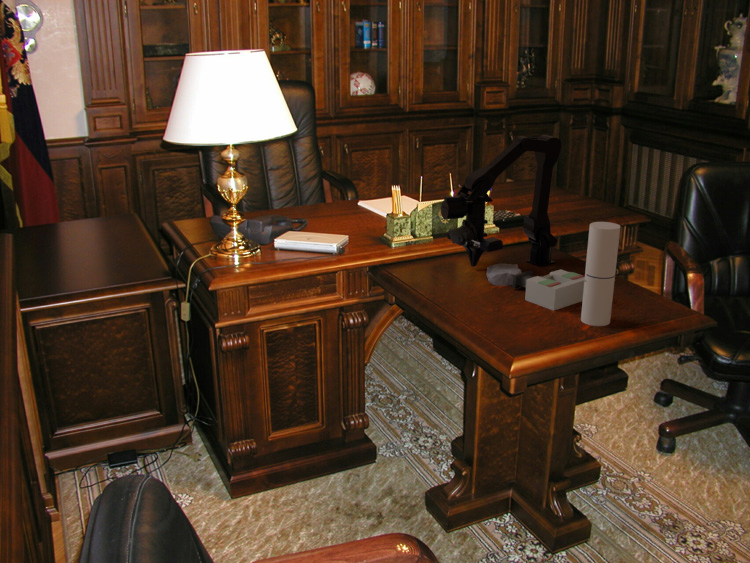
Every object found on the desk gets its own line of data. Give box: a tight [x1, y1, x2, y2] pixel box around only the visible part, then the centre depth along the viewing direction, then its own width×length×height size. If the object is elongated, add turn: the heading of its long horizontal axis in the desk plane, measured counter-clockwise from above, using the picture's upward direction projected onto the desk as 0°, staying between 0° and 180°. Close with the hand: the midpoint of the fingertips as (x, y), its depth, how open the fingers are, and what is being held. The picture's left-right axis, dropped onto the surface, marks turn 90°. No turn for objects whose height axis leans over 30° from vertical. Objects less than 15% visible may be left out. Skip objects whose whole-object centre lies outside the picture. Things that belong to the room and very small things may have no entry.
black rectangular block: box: [512, 270, 552, 290], centre depth 206 cm, size 7×9×5 cm
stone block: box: [486, 262, 523, 287], centre depth 217 cm, size 12×5×10 cm
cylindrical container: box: [580, 221, 621, 327], centre depth 183 cm, size 7×7×25 cm
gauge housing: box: [524, 269, 585, 312], centre depth 200 cm, size 14×10×6 cm
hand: (473, 266), depth 225 cm, fingers closed
